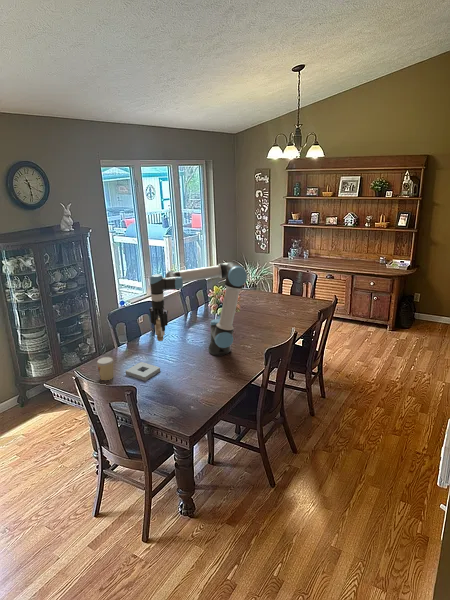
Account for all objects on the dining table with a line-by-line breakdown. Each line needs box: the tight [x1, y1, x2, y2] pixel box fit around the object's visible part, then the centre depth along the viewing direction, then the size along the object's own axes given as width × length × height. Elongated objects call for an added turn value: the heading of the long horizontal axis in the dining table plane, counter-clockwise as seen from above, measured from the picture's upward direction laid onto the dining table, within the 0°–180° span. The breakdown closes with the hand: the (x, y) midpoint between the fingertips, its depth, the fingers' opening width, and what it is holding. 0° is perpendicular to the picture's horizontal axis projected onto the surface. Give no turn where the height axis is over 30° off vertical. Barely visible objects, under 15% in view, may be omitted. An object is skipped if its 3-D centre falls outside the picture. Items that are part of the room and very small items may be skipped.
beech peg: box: [156, 317, 164, 342], centre depth 254 cm, size 4×4×14 cm
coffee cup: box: [96, 356, 114, 381], centre depth 247 cm, size 9×9×12 cm
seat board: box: [125, 361, 161, 382], centre depth 253 cm, size 16×14×2 cm
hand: (160, 334), depth 255 cm, fingers closed on beech peg, 4 cm apart
